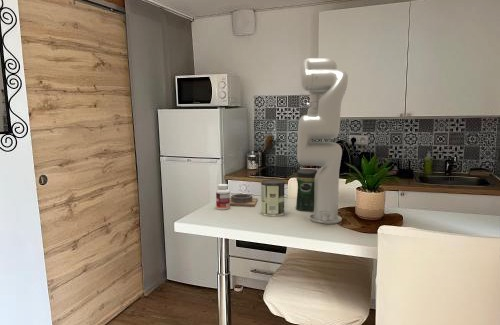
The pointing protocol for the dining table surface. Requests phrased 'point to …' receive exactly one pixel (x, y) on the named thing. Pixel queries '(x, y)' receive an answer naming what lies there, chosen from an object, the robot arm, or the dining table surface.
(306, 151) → the robot arm
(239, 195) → the dish on wooden board
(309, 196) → the coffee jar
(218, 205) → the pill bottle
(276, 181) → the coffee can
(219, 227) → the dining table surface
